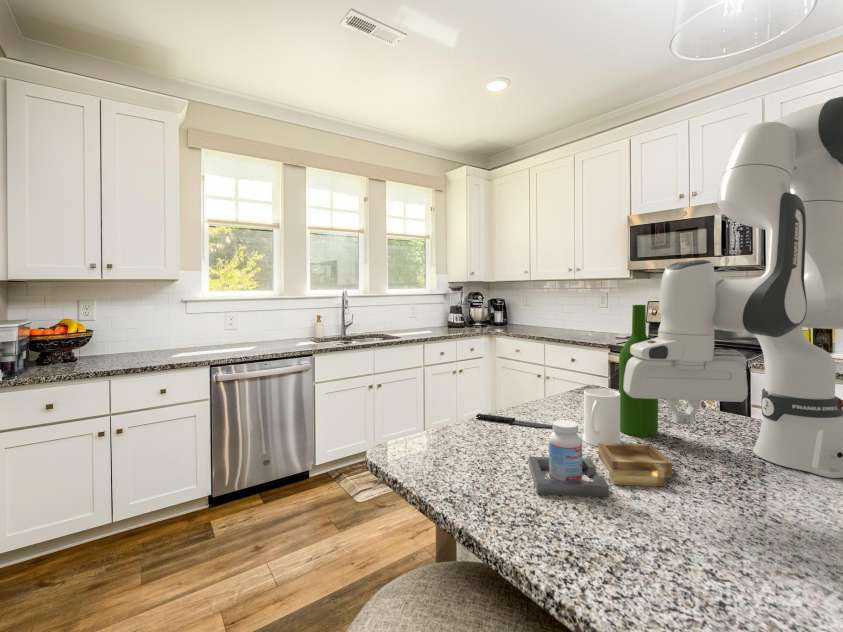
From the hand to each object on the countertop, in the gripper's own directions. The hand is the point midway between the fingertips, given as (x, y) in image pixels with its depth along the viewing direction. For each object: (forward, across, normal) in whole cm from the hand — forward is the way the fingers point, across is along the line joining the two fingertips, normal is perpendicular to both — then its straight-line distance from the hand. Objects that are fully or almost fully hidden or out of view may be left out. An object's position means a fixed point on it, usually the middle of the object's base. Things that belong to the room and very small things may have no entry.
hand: (682, 423), depth 79 cm
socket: (+12, +21, 0) cm, 24 cm away
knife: (+13, +26, -35) cm, 45 cm away
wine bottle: (+12, -3, -30) cm, 33 cm away
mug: (+12, +9, -22) cm, 26 cm away
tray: (+12, +6, -8) cm, 15 cm away
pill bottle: (+13, +21, 0) cm, 24 cm away
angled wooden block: (+12, +8, 0) cm, 14 cm away
